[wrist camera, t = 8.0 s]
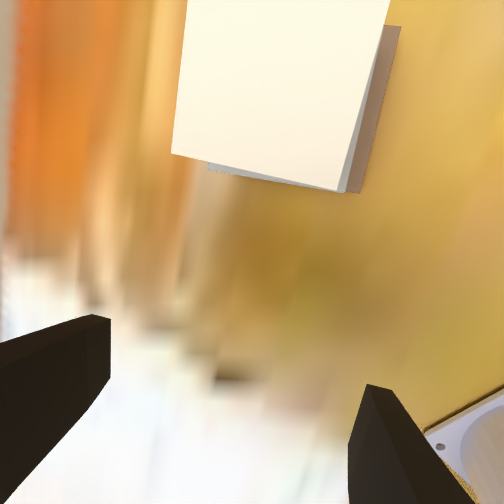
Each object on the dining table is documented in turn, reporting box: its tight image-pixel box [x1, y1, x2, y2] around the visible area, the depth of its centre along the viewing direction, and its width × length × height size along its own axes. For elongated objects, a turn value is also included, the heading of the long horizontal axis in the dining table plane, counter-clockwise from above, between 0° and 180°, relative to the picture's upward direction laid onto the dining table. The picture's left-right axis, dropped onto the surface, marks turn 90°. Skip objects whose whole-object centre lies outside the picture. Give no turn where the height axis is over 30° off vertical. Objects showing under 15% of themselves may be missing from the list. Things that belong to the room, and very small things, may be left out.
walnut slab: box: [345, 25, 401, 194], centre depth 16 cm, size 6×6×2 cm
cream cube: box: [171, 0, 390, 191], centre depth 10 cm, size 4×4×4 cm
